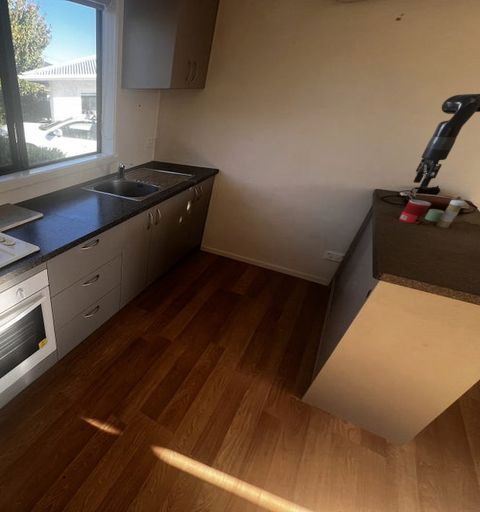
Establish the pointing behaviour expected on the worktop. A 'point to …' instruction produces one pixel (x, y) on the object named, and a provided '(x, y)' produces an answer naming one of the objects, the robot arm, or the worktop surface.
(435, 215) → the green rounded block
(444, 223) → the sprinkles bottle
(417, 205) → the canned food
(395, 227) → the worktop surface
